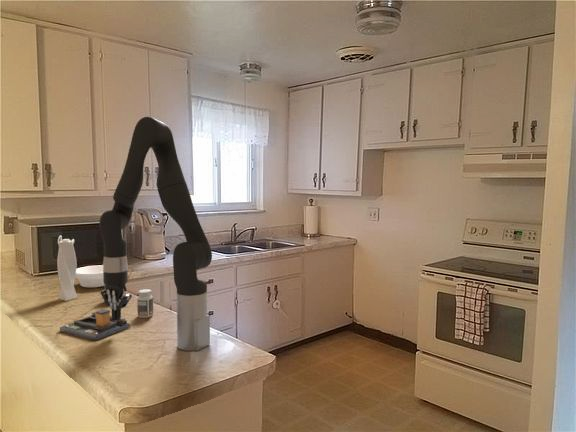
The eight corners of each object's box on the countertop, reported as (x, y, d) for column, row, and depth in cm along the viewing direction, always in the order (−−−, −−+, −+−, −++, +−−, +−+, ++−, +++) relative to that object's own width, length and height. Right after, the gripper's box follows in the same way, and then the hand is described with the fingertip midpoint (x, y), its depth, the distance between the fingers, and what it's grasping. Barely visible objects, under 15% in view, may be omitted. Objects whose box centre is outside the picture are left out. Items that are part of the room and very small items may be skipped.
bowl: (126, 281, 212) (126, 265, 211) (104, 291, 191) (103, 274, 190) (88, 279, 214) (88, 264, 213) (62, 289, 193) (62, 273, 192)
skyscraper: (54, 299, 177) (51, 236, 175) (70, 295, 183) (68, 234, 181) (65, 301, 173) (63, 237, 171) (81, 297, 180) (79, 235, 178)
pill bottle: (148, 312, 160) (147, 288, 159) (156, 315, 156) (155, 290, 155) (134, 316, 155) (134, 290, 155) (142, 319, 152) (142, 293, 151)
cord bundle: (127, 323, 143) (127, 317, 143) (121, 325, 141) (121, 319, 141) (96, 316, 150) (96, 310, 150) (90, 318, 148) (90, 312, 148)
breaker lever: (110, 326, 139) (109, 310, 139) (102, 329, 137) (101, 313, 136) (104, 324, 141) (103, 309, 140) (95, 327, 138) (95, 311, 138)
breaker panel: (129, 327, 143) (129, 320, 143) (95, 340, 130) (95, 332, 130) (95, 319, 151) (95, 312, 151) (59, 331, 138) (59, 323, 138)
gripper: (138, 269, 135) (139, 319, 136) (111, 265, 141) (112, 313, 142) (119, 273, 128) (120, 326, 130) (92, 268, 134) (93, 319, 136)
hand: (116, 319), depth 136 cm, fingers closed
